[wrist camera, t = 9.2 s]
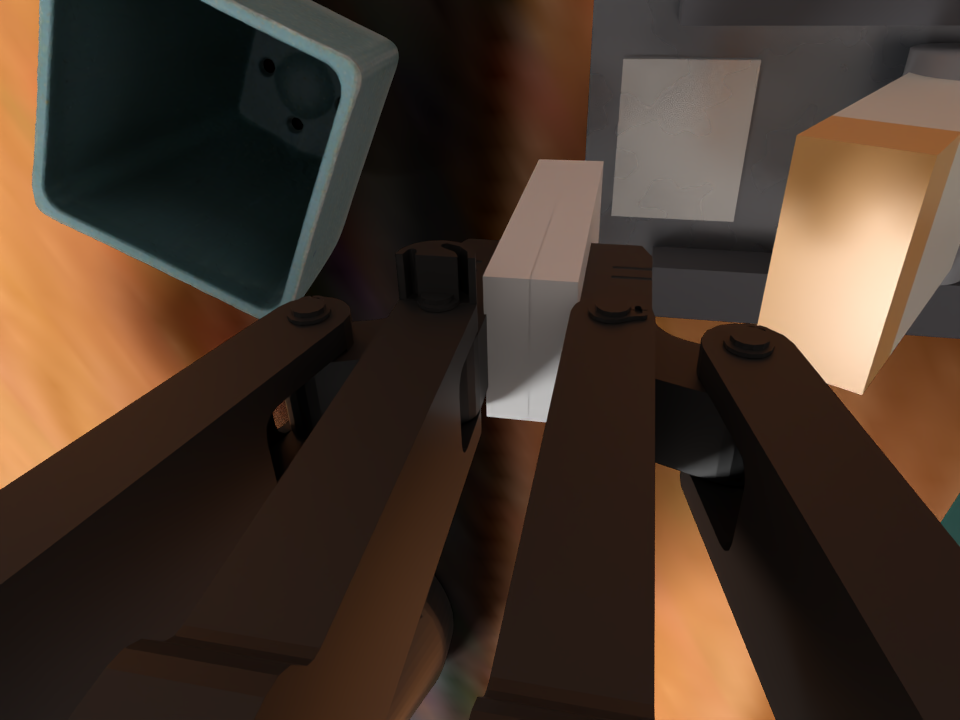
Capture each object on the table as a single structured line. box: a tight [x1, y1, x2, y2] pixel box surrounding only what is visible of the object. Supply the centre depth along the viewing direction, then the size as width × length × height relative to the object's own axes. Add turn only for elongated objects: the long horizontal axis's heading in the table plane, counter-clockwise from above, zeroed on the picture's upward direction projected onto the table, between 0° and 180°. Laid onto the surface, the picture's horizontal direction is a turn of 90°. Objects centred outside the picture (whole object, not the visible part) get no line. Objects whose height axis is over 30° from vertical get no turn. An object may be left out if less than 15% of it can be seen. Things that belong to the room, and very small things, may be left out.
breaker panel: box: [585, 0, 960, 256], centre depth 23 cm, size 20×12×3 cm, turn 91°
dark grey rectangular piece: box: [652, 0, 960, 339], centre depth 21 cm, size 15×11×2 cm
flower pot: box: [32, 0, 399, 319], centre depth 24 cm, size 9×9×9 cm
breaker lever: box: [757, 43, 960, 395], centre depth 18 cm, size 3×6×10 cm
